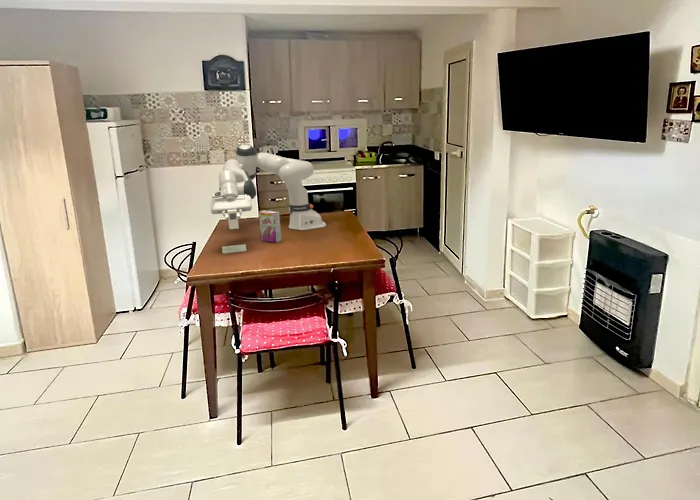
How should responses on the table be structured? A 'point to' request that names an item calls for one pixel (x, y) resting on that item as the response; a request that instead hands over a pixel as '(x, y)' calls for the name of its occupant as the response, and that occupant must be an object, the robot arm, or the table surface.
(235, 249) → the board
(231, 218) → the white device with screen
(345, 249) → the table surface
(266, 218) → the candy bar box
